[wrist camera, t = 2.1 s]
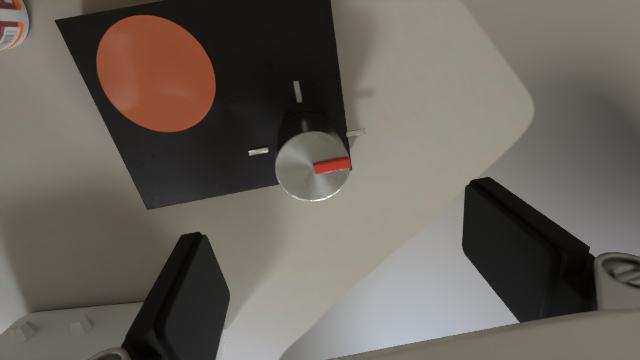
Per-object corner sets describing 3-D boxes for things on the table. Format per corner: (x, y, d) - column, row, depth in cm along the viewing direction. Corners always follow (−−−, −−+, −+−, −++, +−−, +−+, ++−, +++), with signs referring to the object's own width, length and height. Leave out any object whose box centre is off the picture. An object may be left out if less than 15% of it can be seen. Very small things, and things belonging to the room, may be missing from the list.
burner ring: (128, 139, 21) (127, 140, 20) (75, 26, 17) (73, 26, 17) (229, 120, 21) (229, 121, 20) (194, 5, 18) (193, 4, 17)
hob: (165, 207, 26) (153, 225, 23) (80, 22, 19) (51, 19, 17) (362, 169, 26) (370, 183, 24) (341, -25, 20) (349, -34, 17)
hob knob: (284, 174, 23) (283, 210, 18) (270, 117, 21) (266, 141, 16) (340, 163, 23) (355, 196, 18) (332, 106, 21) (346, 126, 16)
